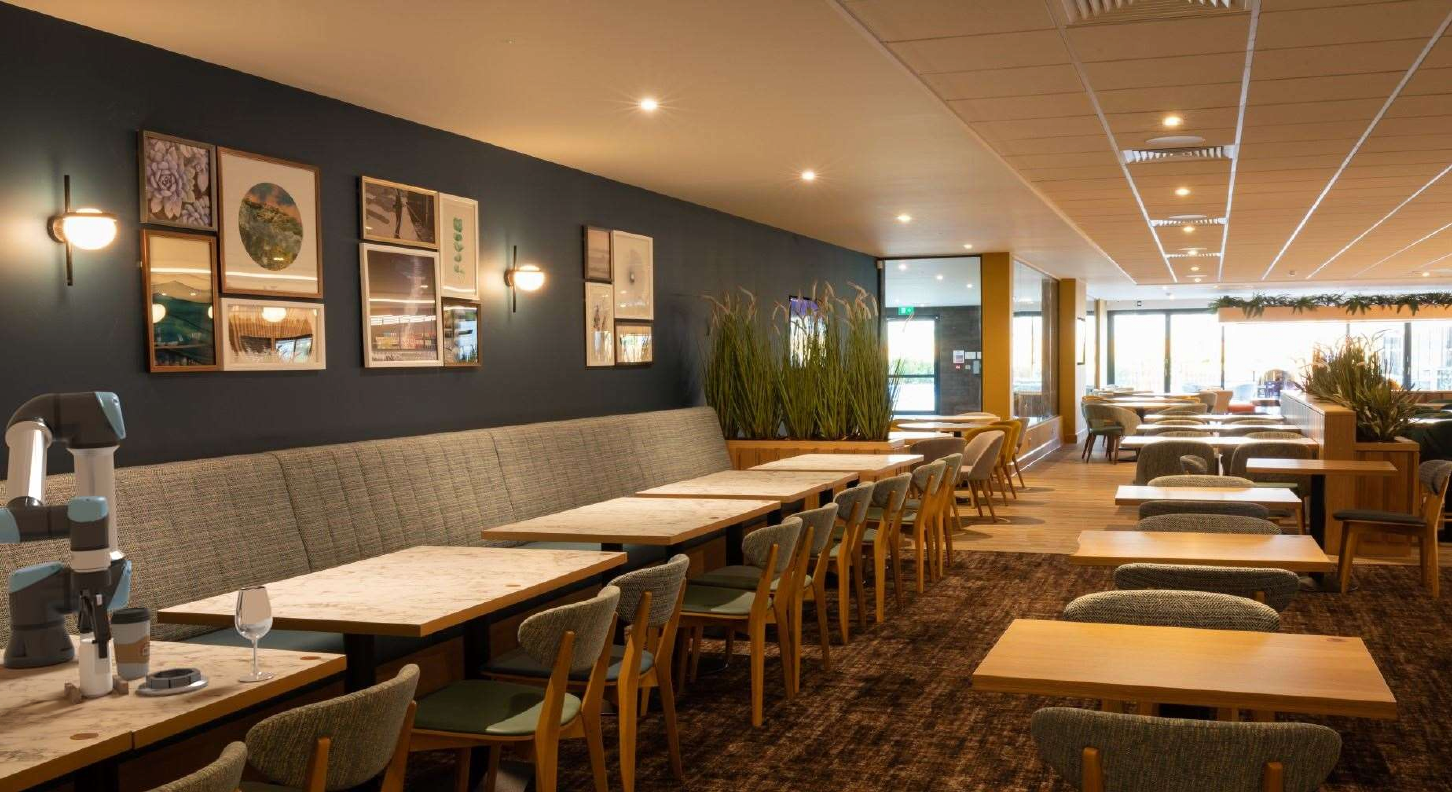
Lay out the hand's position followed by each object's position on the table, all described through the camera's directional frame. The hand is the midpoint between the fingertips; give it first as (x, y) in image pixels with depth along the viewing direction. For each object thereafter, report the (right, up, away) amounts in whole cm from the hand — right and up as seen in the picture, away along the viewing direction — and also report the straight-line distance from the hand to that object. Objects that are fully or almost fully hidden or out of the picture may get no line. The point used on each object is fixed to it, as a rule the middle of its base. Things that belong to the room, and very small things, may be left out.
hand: (95, 668), depth 263 cm
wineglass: (+30, -5, +10) cm, 32 cm away
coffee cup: (0, -6, +16) cm, 17 cm away
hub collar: (+15, -5, +4) cm, 16 cm away
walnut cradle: (0, -6, 0) cm, 6 cm away
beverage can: (0, -6, 0) cm, 6 cm away
